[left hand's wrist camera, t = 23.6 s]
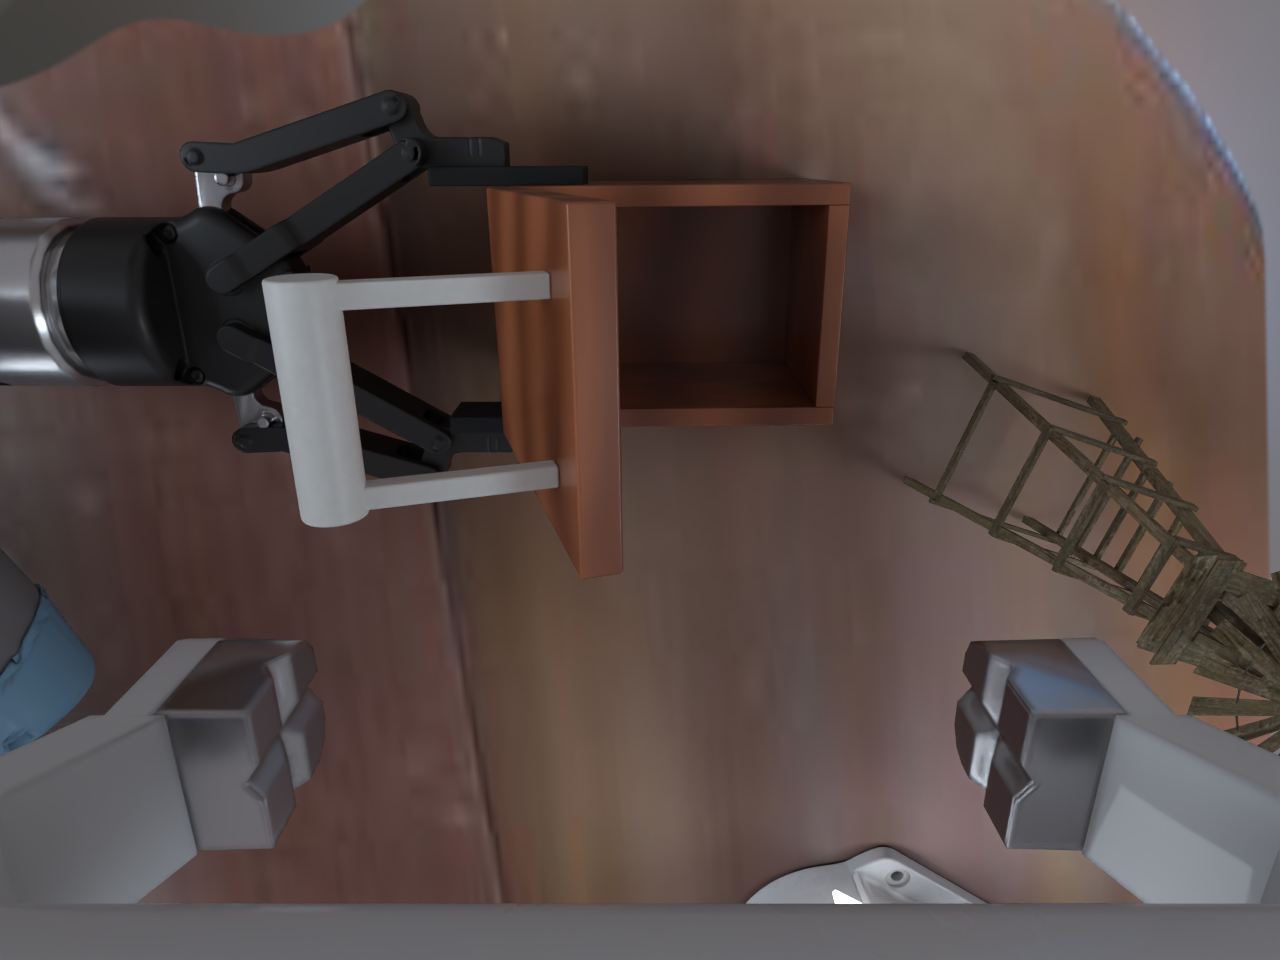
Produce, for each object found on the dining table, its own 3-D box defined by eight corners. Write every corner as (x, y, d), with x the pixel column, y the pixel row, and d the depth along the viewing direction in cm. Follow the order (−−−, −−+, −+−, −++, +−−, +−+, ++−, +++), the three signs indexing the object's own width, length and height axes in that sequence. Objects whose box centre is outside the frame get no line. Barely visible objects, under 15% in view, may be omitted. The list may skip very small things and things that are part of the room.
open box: (807, 178, 43) (851, 182, 34) (796, 373, 46) (833, 425, 37) (534, 181, 43) (504, 186, 34) (544, 375, 47) (519, 427, 37)
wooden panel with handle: (617, 200, 20) (233, 209, 18) (623, 574, 24) (305, 622, 22) (518, 186, 33) (286, 190, 31) (532, 431, 37) (326, 451, 35)
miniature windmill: (968, 342, 46) (1490, 632, 18) (1105, 390, 47) (1807, 738, 19) (898, 489, 49) (1246, 935, 21) (1028, 531, 50) (1529, 1013, 22)
